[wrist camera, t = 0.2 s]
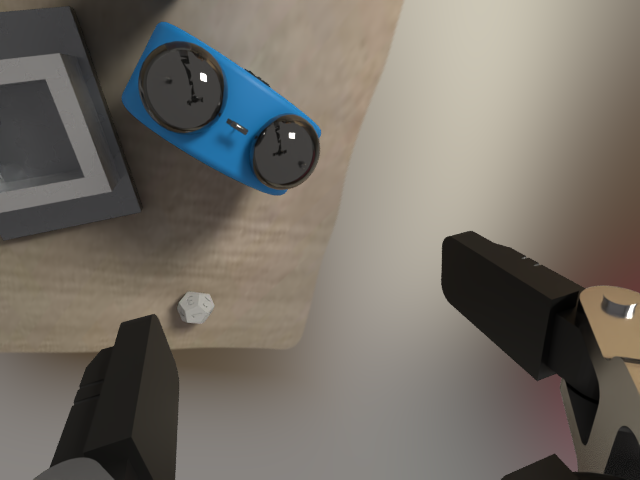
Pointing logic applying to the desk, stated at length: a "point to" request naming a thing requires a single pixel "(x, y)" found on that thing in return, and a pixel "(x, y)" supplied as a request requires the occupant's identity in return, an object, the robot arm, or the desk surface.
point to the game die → (195, 307)
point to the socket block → (55, 129)
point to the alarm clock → (221, 113)
